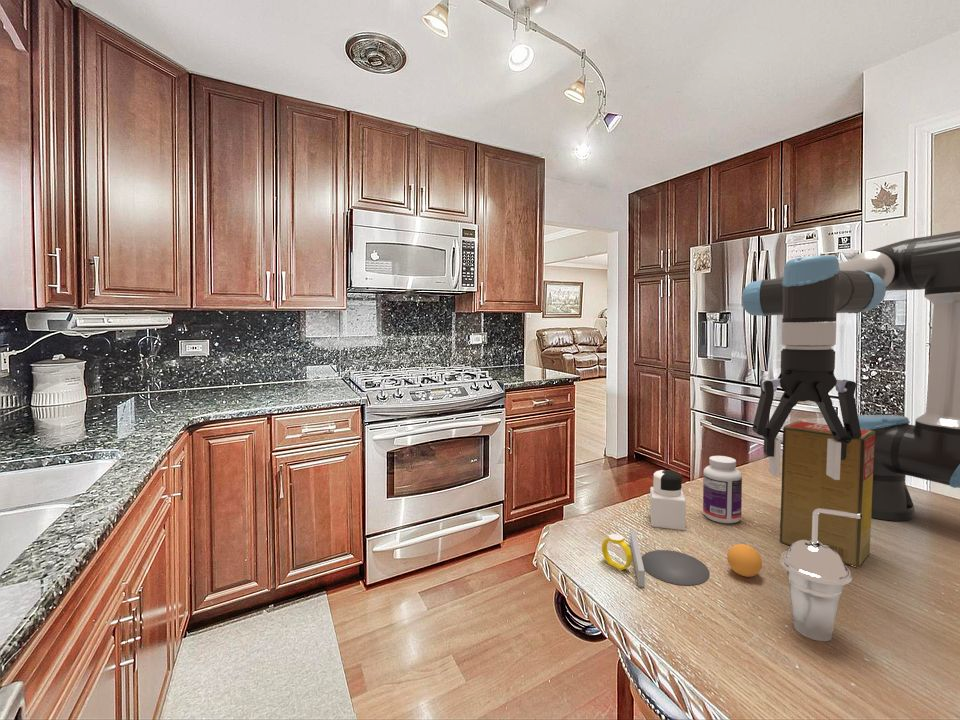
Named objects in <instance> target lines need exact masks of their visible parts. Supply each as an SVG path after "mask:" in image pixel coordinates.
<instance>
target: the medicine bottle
mask: <svg viewBox="0 0 960 720" xmlns="http://www.w3.org/2000/svg"><path fill="white" fill-rule="evenodd" d="M682 478H683V477H682V475H681V474H680V473H678V472H676V471H673V470H671V469H670V470H668V469H661V470H660V469H659V470H656V471H655V472H654V473H653V486H650V488H649V490H650V492H649V493H650V494H649V500H650V501H649V503H650V504H649V515H650V523H651V527H652V528H653V527H655V528H662V529H669V530H679V531H685V530H686V513H687V512H686V509H687V508H686V498H685V494H684V492H683V490H682V483H683V481H682V480H683V479H682Z"/></svg>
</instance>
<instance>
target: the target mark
mask: <svg viewBox="0 0 960 720" xmlns="http://www.w3.org/2000/svg"><path fill="white" fill-rule="evenodd" d="M641 557H642V562H643V566H644V570H645V572H647V574H649V575H650V576H651V577H653V578H655V579H657V580H659V581H662V582H666V583H667V584H668V583H669V584H670V585H671V584H672V585H677V586H690V587H691V586H697V585H702V584H704V583H705V582H707V581H708V579H710V571H709V568H708V566H707V565H706V564H704V563H703V562H702V561H701V560H699V559H698V558H696V557H693V556H692V555H689V554H686V553H684V552H681V551H676V550H675V551H674V550H669V549H668V550H667V549H655V550H652V551H647V552H646V553H644V554H643V555H641Z"/></svg>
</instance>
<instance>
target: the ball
mask: <svg viewBox="0 0 960 720" xmlns="http://www.w3.org/2000/svg"><path fill="white" fill-rule="evenodd" d="M726 556H727V557H726V559H727V563H728V565H729V566H730V568H731V569H732V571H734V572H735V573H736V574H738V575H740V576H743V577H746V578H748V577H754V576H756V575H758V574H759V573H760V572H761V571H762V568H763V561H762V558H761V555H760V554H759V552H758V551H757V550H756V549H755V548H753V547H752V546H750V545H748V544H745V543H737V544H734V545H733V546H731V547H730V548H729V550H728V551H727V555H726Z"/></svg>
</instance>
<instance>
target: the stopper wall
mask: <svg viewBox="0 0 960 720" xmlns="http://www.w3.org/2000/svg"><path fill="white" fill-rule="evenodd" d="M636 532H637V531H636V529H632V528H631V529H630V531H629V534H630V535H629V536H630V537H629V542H630V551H631V553H632V561H633V564H634V569H635V574H636V580H637V586H638V587H639V588H645V586H646V585H645V584H646V583H645V577H646V576H645V572H646V571H645V570H644V566H643V562H642V554H641V550H640V546H639V540H638V536H637V533H636Z"/></svg>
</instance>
